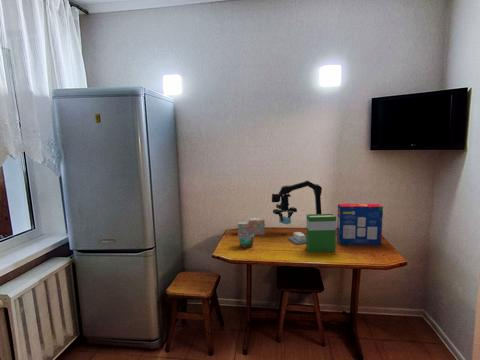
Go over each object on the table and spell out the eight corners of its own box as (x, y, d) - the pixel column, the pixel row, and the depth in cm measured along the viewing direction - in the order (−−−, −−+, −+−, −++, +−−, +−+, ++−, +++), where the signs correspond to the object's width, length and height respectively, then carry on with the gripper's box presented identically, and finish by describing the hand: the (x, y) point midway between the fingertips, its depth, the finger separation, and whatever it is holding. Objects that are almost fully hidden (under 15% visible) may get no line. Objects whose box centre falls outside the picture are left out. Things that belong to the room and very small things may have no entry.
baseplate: (302, 237, 209) (302, 235, 208) (310, 242, 197) (310, 240, 197) (288, 239, 205) (288, 237, 205) (296, 244, 194) (296, 242, 194)
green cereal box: (331, 247, 188) (332, 213, 185) (335, 251, 181) (336, 216, 177) (306, 247, 188) (306, 214, 185) (308, 252, 181) (309, 217, 178)
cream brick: (299, 236, 206) (299, 231, 205) (305, 240, 198) (305, 235, 198) (293, 237, 204) (293, 232, 203) (299, 241, 196) (299, 236, 196)
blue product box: (376, 241, 197) (378, 204, 193) (380, 245, 189) (382, 206, 185) (336, 240, 200) (337, 203, 196) (339, 244, 192) (340, 206, 188)
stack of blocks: (238, 235, 217) (237, 220, 216) (238, 232, 223) (238, 218, 222) (264, 234, 217) (264, 220, 215) (264, 232, 223) (264, 217, 221)
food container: (235, 248, 191) (234, 234, 189) (238, 244, 196) (238, 231, 195) (251, 250, 186) (251, 236, 185) (254, 246, 192) (254, 233, 191)
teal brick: (284, 220, 221) (284, 216, 220) (290, 223, 214) (290, 218, 213) (279, 222, 218) (279, 217, 217) (286, 224, 211) (285, 219, 211)
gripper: (290, 199, 224) (290, 217, 226) (269, 201, 218) (270, 219, 221) (297, 201, 213) (297, 220, 215) (275, 204, 208) (276, 223, 210)
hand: (285, 221), depth 216 cm, fingers closed on teal brick, 6 cm apart
